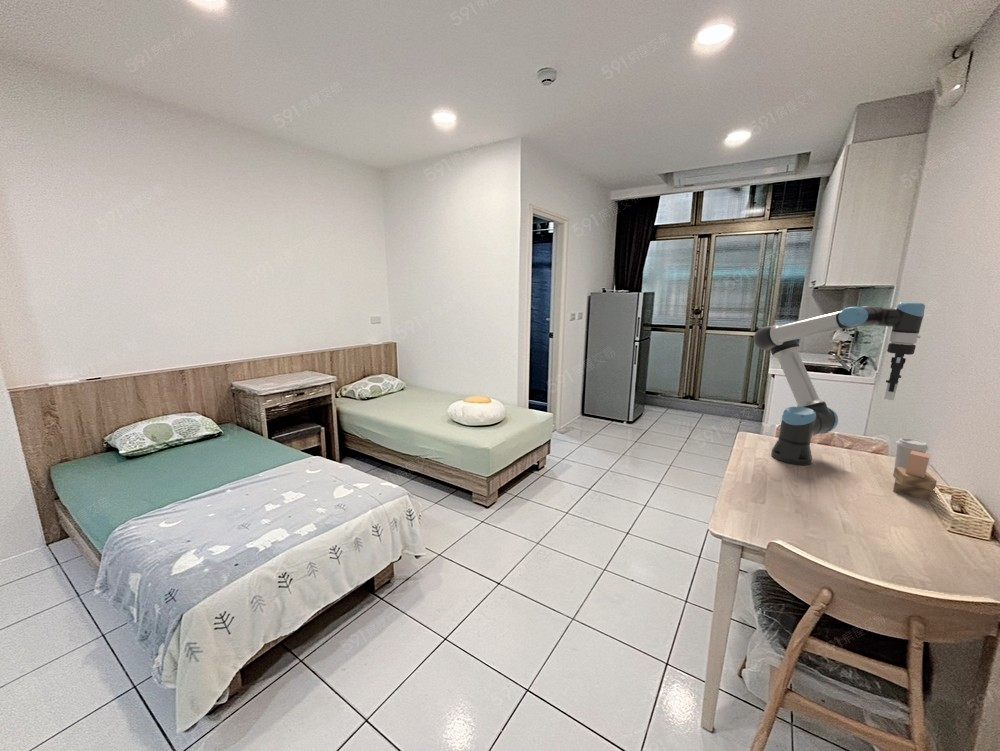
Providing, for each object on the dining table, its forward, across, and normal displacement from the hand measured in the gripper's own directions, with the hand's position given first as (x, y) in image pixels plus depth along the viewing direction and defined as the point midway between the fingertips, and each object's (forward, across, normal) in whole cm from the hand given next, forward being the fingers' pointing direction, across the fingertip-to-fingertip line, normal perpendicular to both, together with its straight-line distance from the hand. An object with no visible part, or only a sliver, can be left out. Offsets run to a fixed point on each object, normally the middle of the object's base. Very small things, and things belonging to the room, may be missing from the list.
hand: (889, 396), depth 159 cm
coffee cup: (+35, +13, -10) cm, 39 cm away
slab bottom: (+35, -6, -12) cm, 37 cm away
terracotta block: (+27, -6, -12) cm, 30 cm away
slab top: (+31, -6, -12) cm, 34 cm away
